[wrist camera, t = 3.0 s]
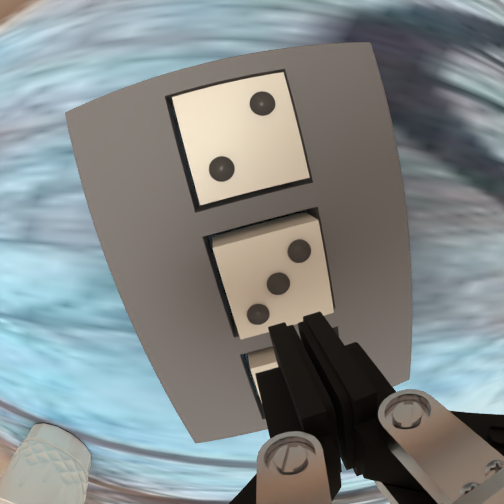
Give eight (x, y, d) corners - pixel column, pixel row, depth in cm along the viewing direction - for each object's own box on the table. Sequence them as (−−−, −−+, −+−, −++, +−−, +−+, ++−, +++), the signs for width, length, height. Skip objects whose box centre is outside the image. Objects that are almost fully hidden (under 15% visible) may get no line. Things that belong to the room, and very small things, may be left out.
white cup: (12, 414, 20) (-27, 487, 11) (75, 420, 21) (41, 512, 11) (50, 464, 22) (26, 533, 13) (110, 472, 23) (95, 552, 13)
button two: (274, 83, 15) (284, 71, 12) (296, 175, 16) (310, 177, 14) (177, 105, 14) (171, 96, 12) (202, 199, 16) (200, 205, 14)
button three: (304, 211, 17) (319, 220, 14) (320, 295, 18) (334, 313, 16) (212, 236, 16) (212, 249, 14) (237, 318, 18) (240, 341, 16)
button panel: (352, 54, 15) (370, 42, 13) (394, 361, 22) (409, 379, 20) (83, 117, 15) (65, 112, 12) (196, 419, 21) (195, 443, 19)
